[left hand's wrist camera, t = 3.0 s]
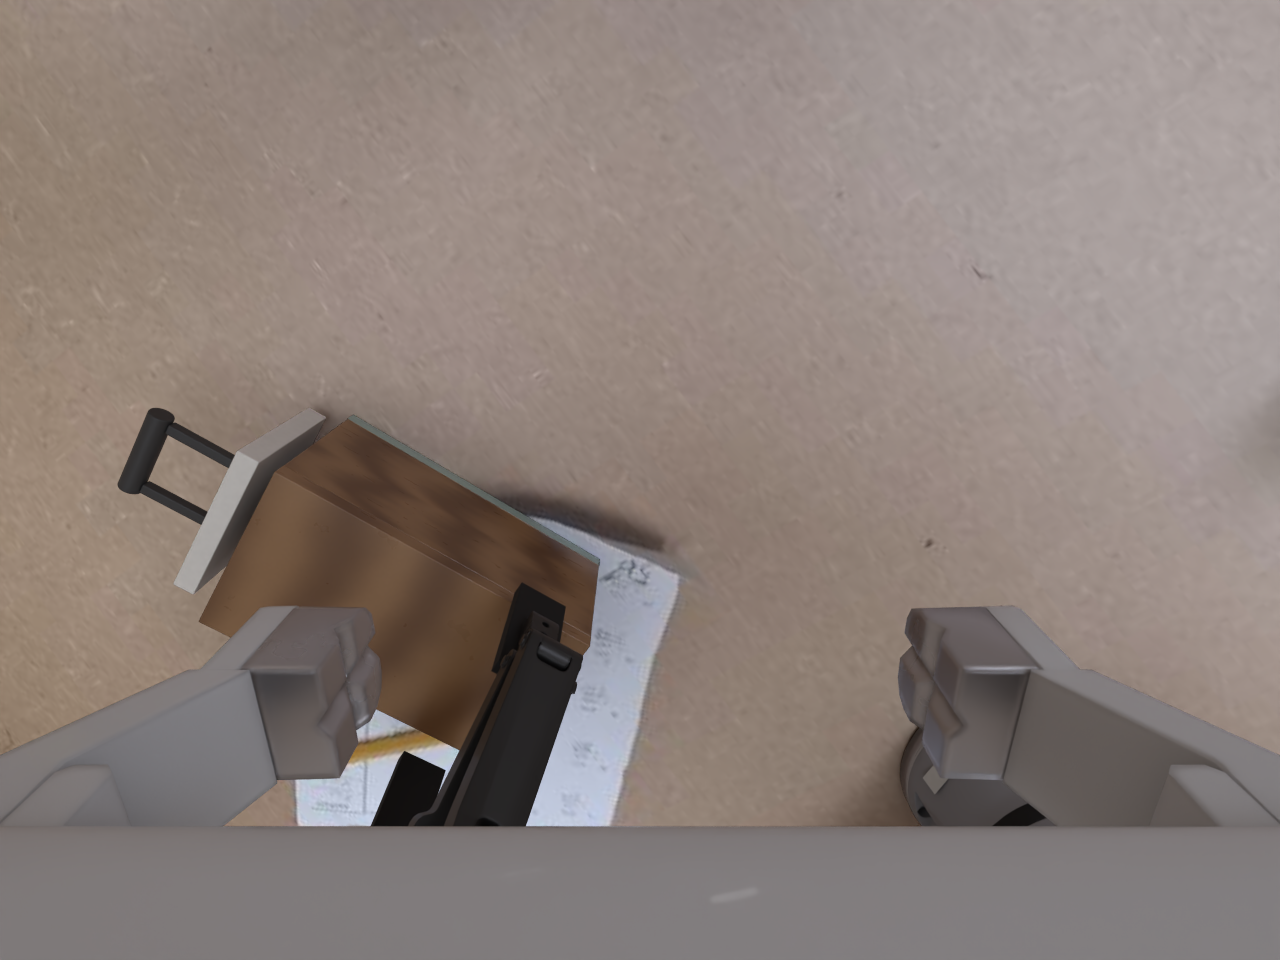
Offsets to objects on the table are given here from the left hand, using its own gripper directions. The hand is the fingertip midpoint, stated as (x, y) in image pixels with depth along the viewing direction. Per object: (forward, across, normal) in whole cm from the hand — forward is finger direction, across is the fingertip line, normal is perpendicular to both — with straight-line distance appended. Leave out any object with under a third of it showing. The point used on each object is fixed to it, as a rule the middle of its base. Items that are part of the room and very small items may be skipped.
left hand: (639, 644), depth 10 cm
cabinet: (+34, +14, +16) cm, 39 cm away
